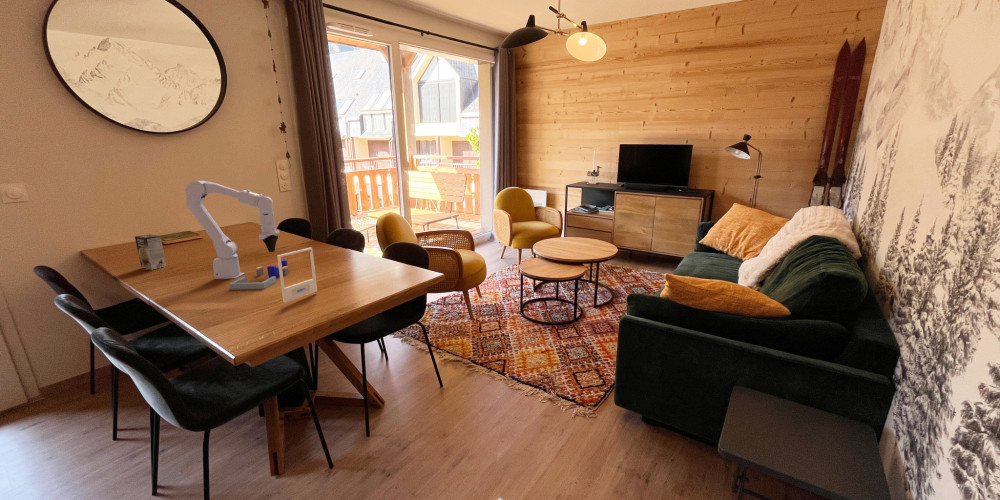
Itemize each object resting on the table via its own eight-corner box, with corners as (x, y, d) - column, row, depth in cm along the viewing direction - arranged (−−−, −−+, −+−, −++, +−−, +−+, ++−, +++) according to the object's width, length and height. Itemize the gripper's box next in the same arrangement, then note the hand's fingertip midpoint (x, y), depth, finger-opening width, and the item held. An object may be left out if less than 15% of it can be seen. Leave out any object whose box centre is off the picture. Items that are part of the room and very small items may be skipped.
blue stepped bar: (278, 272, 189) (277, 260, 188) (288, 272, 189) (286, 260, 188) (265, 280, 177) (263, 266, 176) (275, 279, 178) (274, 266, 176)
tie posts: (256, 276, 183) (255, 268, 182) (260, 274, 186) (259, 266, 185) (285, 275, 183) (284, 267, 183) (288, 273, 186) (288, 266, 186)
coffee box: (140, 268, 196) (133, 236, 192) (155, 265, 202) (149, 234, 198) (152, 270, 193) (145, 237, 189) (167, 267, 198) (160, 235, 195)
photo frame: (285, 302, 148) (279, 255, 144) (283, 302, 149) (277, 255, 145) (317, 291, 161) (312, 247, 157) (315, 290, 162) (310, 247, 158)
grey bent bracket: (229, 289, 164) (228, 283, 163) (243, 282, 174) (243, 276, 173) (264, 288, 164) (263, 283, 164) (276, 281, 174) (275, 276, 174)
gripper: (268, 225, 177) (272, 255, 180) (284, 220, 191) (288, 248, 194) (252, 225, 177) (256, 255, 180) (269, 220, 191) (273, 248, 194)
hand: (271, 251), depth 187 cm, fingers closed
